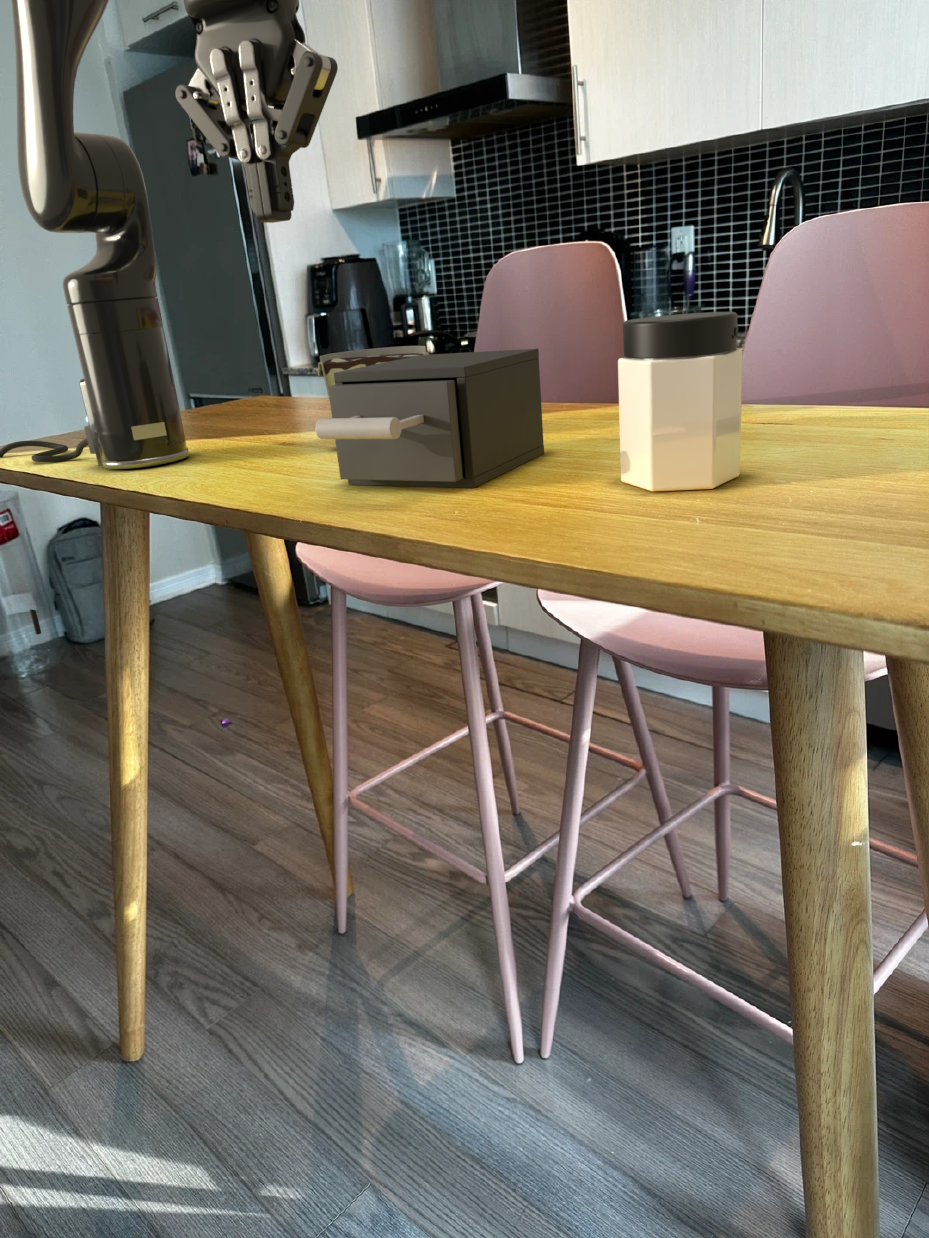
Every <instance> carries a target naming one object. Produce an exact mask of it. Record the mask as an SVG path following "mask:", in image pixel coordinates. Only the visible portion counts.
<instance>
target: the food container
mask: <svg viewBox="0 0 929 1238" xmlns="http://www.w3.org/2000/svg"><path fill="white" fill-rule="evenodd" d="M419 355H430V353H429V352H428V351H427V348H426V346H425V345H404V346H403V345H402V346H388V347H387V346H386V347H377V348H367V349H356V350H349V351H341V352H340V351H339V352H334V353H327V354H323V355H319V362H317V377H319V378H320V377H322V376H323V379H324V383H325V387H326V391H327V397H329V392H328V387H329V386H333V385H335V383H336V382H335V379H334V373H336V372H341V371H346V370H350V369H355V368H360V367H365V366H370V365H375V364H380V363H385V362H390V361H394V360H399V359H404V358H409V357H414V356H419ZM328 400H329V401H330V399H329V398H328Z"/></svg>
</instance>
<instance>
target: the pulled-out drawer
mask: <svg viewBox="0 0 929 1238" xmlns="http://www.w3.org/2000/svg"><path fill="white" fill-rule="evenodd" d="M328 392H329V396H328V400H329V399H330V400H329V405H330V412H331V418H319V419H318V420H317V421H316V422H315V428H314V431H315V434H316V436H317V438H318V439H320V440H334V442H335V448H336V449H335V450H336V456H337V457H336V458H337V464H338V471H339V478H340V480H348V479H350V480H397V481H443V482H457V481H459V480H461V479H463V474H462V471H465V464H464V453H463V441H462V430H461V418H460V407H459V395H458V384H457V378H433V379H409V380H385V381H367V382H362V383H358V384H343V385H333V386H329V387H328ZM328 392H327V393H328Z"/></svg>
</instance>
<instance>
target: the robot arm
mask: <svg viewBox="0 0 929 1238" xmlns="http://www.w3.org/2000/svg"><path fill="white" fill-rule="evenodd" d="M109 1H110V0H10V2H11V11H12V22H13V23H12V24H13V34H14V35H13V36H14V46H15V48H14V51H15V77H16V81H15V82H16V141H17V142H16V145H17V165H18V176H19V177H18V178H19V183H20V189H21V192H22V197H23V200H24V202H25V205H26V208H27V210H28V213H29V214H30V216H31V217H32V219H33V220H34V222H35V223H36V224H37V225H38V227H40V228H41V229H43V230H45V231H47V232H50V233H58V234H95V243H96V251H95V254H94V255H93V257H92V258H91V260H89V262H88V263H86V264H85V265H84V266H82V267H80V268H77V269H76V270H74V271H71V272H69V273H68V274H67V275H65V276H64V277H63V279H62V289H63V294H64V298H65V299H64V300H65V303H66V305H67V310H68V315H69V320H70V325H71V329H72V333H73V337H74V341H75V345H76V349H77V355H78V359H79V363H80V368H81V372H82V377H83V378H81V379H80V380H79V389H80V393H81V397H82V403H83V406H84V410H85V415H86V417H85V421H86V422H87V423H88V425H84V427H83V428H84V432H85V436H86V438H84V439H83V440H81V441H80V442H79V443H77V446H76V448H75V450H74V451H72V452H69V453H66V452H68V451H69V446H67V445H65V444H62V443H56V442H52V441H51V442H50V441H44V440H19V441H14V442H10V443H8V444H6V445H4V446H3V447H1V448H0V459H2V458H3V457H4V456H5V455H6V454H7V453H8V452H10V451H11V450H14V449H18V448H23V447H24V448H25V447H39V448H41V447H42V448H47V449H49V450H45V451H41V452H38V453H35V454H33V455H31V460H32V462H34V463H58V462H65V461H66V462H67V461H71V460H75V459H77V458H79V457H80V456H81V455H82V453H83V451H84V449H85V448H86V447H87V446H88V450H89V453H90V454H91V455H95V458H96V463H97V466H98V467H103V468H104V469H109V470H128V469H140V468H149V467H154V466H161V465H165V464H170V463H174V462H178V461H182V460H184V459H187V458H188V457H189V456H190V451H189V447H188V445H187V441H186V435H185V431H184V426H183V418H182V413H181V409H180V404H179V400H178V399H179V398H178V394H177V389H176V384H175V379H174V374H173V369H172V363H171V359H170V354H169V348H168V343H167V337H166V335H165V334H166V333H165V328H164V324H163V318H162V313H161V308H160V303H159V298H158V292H157V288H156V287H157V286H156V280H157V279H156V277H157V269H158V268H157V265H158V264H157V255H156V248H155V242H154V235H153V227H152V221H151V220H152V219H151V213H150V207H149V200H148V199H149V198H148V193H147V192H148V191H147V186H146V182H145V177H144V174H143V171H142V168H141V165H140V162H139V160H138V158H137V157H136V154H135V153H134V151H133V149H132V148H131V146H129V144H128V143H127V142H126V141H124V140H123V139H121V138H120V137H118V136H113V135H106V134H101V133H99V134H98V133H88V132H77V131H75V127H74V124H75V123H74V97H75V87H76V79H77V75H78V71H79V68H80V64H81V63H82V62H81V61H82V58H83V57H84V54H85V52H86V50H87V47H88V45H89V43H90V41H91V39H92V37H93V36H94V33H95V32H96V30H97V28H98V26H99V25H100V22H101V21H102V18H103V16H104V14H105V11H106V10H107V7H108V4H109V3H110V2H109ZM183 4H184V9H185V12H186V14H187V15H188V17H189V19H190V20H191V22H192V24H193V27H194V29H195V33H196V41H195V48H194V61H195V63H196V66H197V68H196V70H195V71H194V73H193V75H192V77H191V79H190V80H189V83H188V84H182V83H181V84H178V85H177V86H176V89H175V99H176V101H177V102H178V104H179V105H180V106H181V108H182V109H183V110H184V111H185V112H186V114H187V115H188V116H189V118H190V119H191V121H192V122H193V123H194V124H195V126H196V127H197V128H198V129H199V131H200V132H201V133H202V135H203V136H204V137H205V139H206V140H207V141H208V142H209V144H210V145H211V146H212V148H213V149H214V150H215V151H216V152H217V154H218V156H220V157H222V158H227V159H228V158H229V159H233V160H237V161H238V162H240V163H241V164H242V166H243V168H244V171H245V178H246V184H247V191H248V197H249V204H250V208H251V210H252V213H253V214H254V215H255V216H256V218H257V220H258V222H260V223H269V224H272V223H280V222H287V221H290V220H291V219H292V212H294V207H295V198H294V190H293V185H292V184H293V183H292V176H291V170H290V160H291V158H292V156H293V155H294V154H295V153H296V152H298V151H299V150H300V149H301V148H302V149H306V148H307V147H309V145H310V144H311V141H312V139H313V136H314V134H315V131H316V129H317V126H318V123H319V120H320V118H321V115H322V112H323V110H324V107H325V105H326V102H327V100H328V98H329V97H328V96H329V94H330V92H331V90H332V87H333V84H334V81H335V79H336V77H337V74H338V69H339V68H338V63H337V60H336V59H335V58H334V57H331V56H328V55H324V54H321V53H319V52H318V51H316V50H315V49H314V48H312V47H311V46H310V45H309V44H307V43H306V34H305V31H304V29H303V27H302V25H301V23H300V22H299V20H298V17H297V14H298V12H299V8H300V0H183ZM64 453H66V454H64ZM29 613H30V617H31V621H32V625H33V629H34V632H35V635H41V634H42V629H41V625H40V622H39V618H38V614H37V610H36V609H29Z"/></svg>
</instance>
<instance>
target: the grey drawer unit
mask: <svg viewBox="0 0 929 1238" xmlns="http://www.w3.org/2000/svg"><path fill="white" fill-rule="evenodd" d="M433 378H457V384H458V395H459V407H460V418H461V430H462V441H463V453H464V464H465V471H462V474H463V479H461V480H459V481H457V482H443V481H397V480H350V479H347V482H348V483H347V484H348V485H349V486H382V487H383V486H385V487H386V486H387V487H388V486H390V487H422V488H423V487H426V488H427V487H428V488H464V489H465V488H467V489H470V488H471V489H475V488H478V487H479V486H481V485H483V484H485V483H487V482H489V481H491V480H493V479H495V478H497V477H500V476H501V475H504V474H506V473H508V472H509V471H511V470H514V469H515V468H518V467H519V466H521V465H523V464H525V463H527V462H529V461H531V460H534V459H536V458H538V457H539V456H542V455H544V454H545V445H544V443H545V442H544V428H543V427H544V426H543V425H544V424H543V408H542V393H541V373H540V351H539V348H524V349H523V348H522V349H506V350H505V349H503V350H491V351H490V350H487V351H470V352H453V353H452V352H451V353H435V354H429V355H419V356H414V357H409V358H404V359H399V360H394V361H390V362H385V363H380V364H375V365H370V366H365V367H360V368H355V369H350V370H346V371H341V372H336V373H334V379H335V382H336V383H335V385H343V384H358V383H362V382H367V381H385V380H409V379H433Z"/></svg>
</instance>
